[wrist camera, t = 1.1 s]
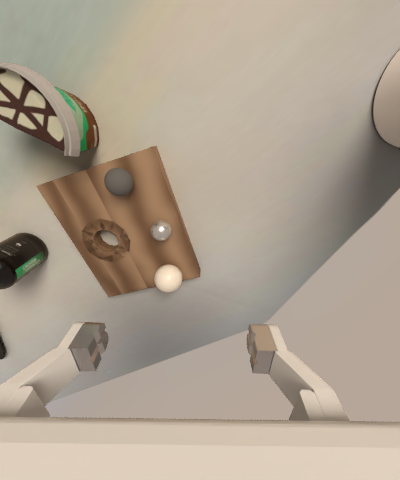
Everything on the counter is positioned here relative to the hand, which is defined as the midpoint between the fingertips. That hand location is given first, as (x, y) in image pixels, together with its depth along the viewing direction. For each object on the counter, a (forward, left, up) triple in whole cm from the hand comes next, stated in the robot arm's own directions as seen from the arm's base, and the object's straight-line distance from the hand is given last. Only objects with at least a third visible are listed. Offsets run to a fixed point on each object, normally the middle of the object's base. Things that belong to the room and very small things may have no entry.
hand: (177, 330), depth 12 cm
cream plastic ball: (+9, +11, -22) cm, 26 cm away
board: (+14, +2, -27) cm, 30 cm away
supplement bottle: (+35, 0, -27) cm, 44 cm away
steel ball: (+7, +2, -22) cm, 24 cm away
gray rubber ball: (+10, -7, -22) cm, 25 cm away
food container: (+14, -18, -27) cm, 35 cm away
